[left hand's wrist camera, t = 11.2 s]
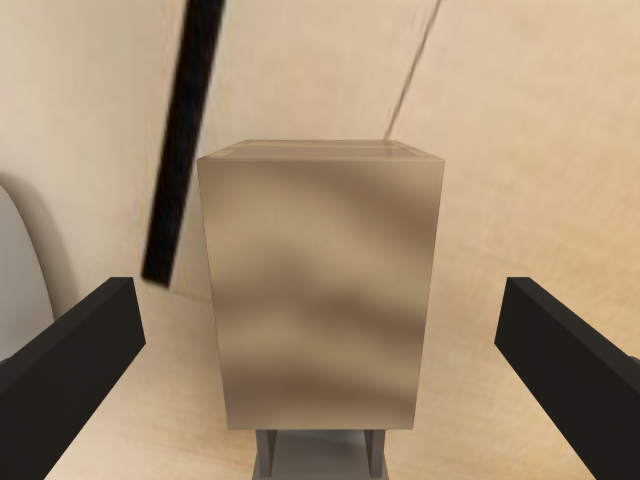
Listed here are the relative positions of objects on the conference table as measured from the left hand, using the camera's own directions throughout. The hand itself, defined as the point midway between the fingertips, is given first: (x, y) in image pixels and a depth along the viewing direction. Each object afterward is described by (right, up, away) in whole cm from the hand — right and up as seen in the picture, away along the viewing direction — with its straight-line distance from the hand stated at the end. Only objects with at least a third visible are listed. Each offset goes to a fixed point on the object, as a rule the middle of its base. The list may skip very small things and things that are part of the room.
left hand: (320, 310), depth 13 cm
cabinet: (0, +2, +16) cm, 16 cm away
